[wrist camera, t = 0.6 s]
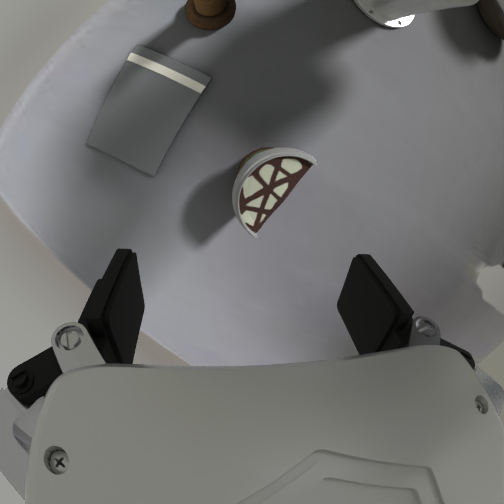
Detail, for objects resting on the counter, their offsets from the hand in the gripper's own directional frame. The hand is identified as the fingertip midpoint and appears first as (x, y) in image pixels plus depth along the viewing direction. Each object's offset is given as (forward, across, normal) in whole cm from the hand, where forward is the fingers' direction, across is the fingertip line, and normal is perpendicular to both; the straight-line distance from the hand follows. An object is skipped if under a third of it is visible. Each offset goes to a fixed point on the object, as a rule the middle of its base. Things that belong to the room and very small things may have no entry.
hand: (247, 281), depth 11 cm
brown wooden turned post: (+30, +4, -21) cm, 37 cm away
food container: (+30, -4, +2) cm, 31 cm away
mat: (+30, +12, -6) cm, 33 cm away
